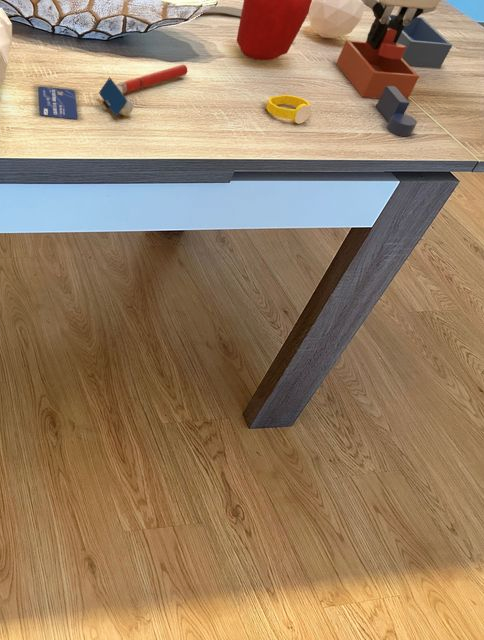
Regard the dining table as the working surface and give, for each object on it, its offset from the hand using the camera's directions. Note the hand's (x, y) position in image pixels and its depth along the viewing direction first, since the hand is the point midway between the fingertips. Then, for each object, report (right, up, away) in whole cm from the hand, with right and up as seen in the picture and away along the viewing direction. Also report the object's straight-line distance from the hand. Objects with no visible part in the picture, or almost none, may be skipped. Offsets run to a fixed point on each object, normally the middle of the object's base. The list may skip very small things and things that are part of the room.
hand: (379, 45), depth 120 cm
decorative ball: (-4, +7, +13) cm, 16 cm away
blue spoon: (-1, -15, -7) cm, 17 cm away
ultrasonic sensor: (-46, -15, -14) cm, 50 cm away
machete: (-22, +9, +13) cm, 27 cm away
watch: (-20, -12, -8) cm, 24 cm away
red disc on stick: (0, -2, -1) cm, 2 cm away
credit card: (-53, -14, -15) cm, 57 cm away
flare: (-38, -10, -9) cm, 41 cm away
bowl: (-64, -11, -20) cm, 68 cm away
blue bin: (+11, +4, +13) cm, 18 cm away
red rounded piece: (-18, 0, +5) cm, 19 cm away
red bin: (0, -5, +2) cm, 6 cm away
